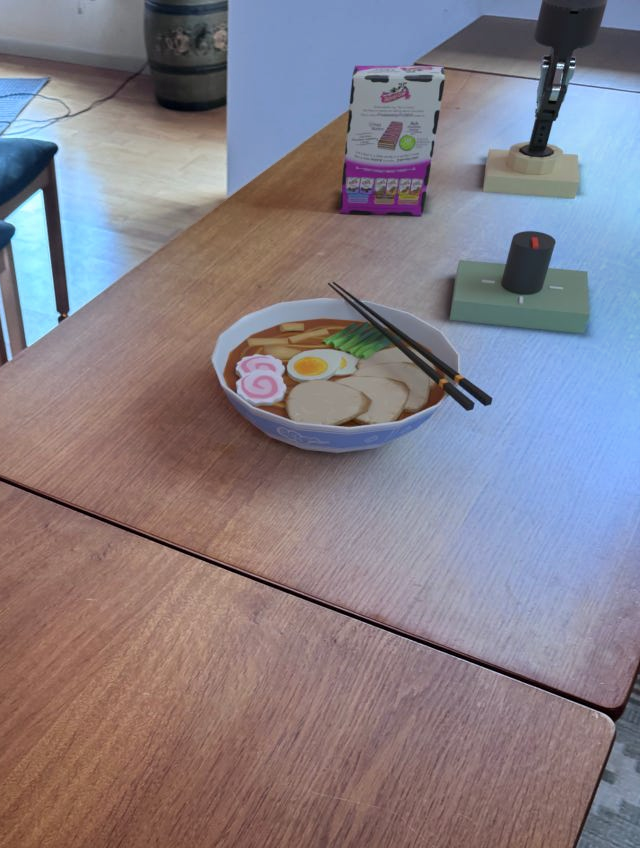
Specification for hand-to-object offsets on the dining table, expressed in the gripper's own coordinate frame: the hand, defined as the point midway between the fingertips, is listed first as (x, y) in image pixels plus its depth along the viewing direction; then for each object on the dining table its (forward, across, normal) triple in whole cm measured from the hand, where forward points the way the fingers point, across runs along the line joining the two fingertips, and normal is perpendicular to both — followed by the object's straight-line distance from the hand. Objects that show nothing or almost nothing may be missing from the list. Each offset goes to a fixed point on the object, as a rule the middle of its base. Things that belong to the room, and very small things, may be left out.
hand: (536, 148), depth 124 cm
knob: (+1, +38, -1) cm, 38 cm away
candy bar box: (+4, +13, -19) cm, 23 cm away
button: (+2, 0, 0) cm, 2 cm away
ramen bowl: (+4, +65, -18) cm, 68 cm away
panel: (+4, +38, -1) cm, 38 cm away
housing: (+4, 0, 0) cm, 4 cm away
